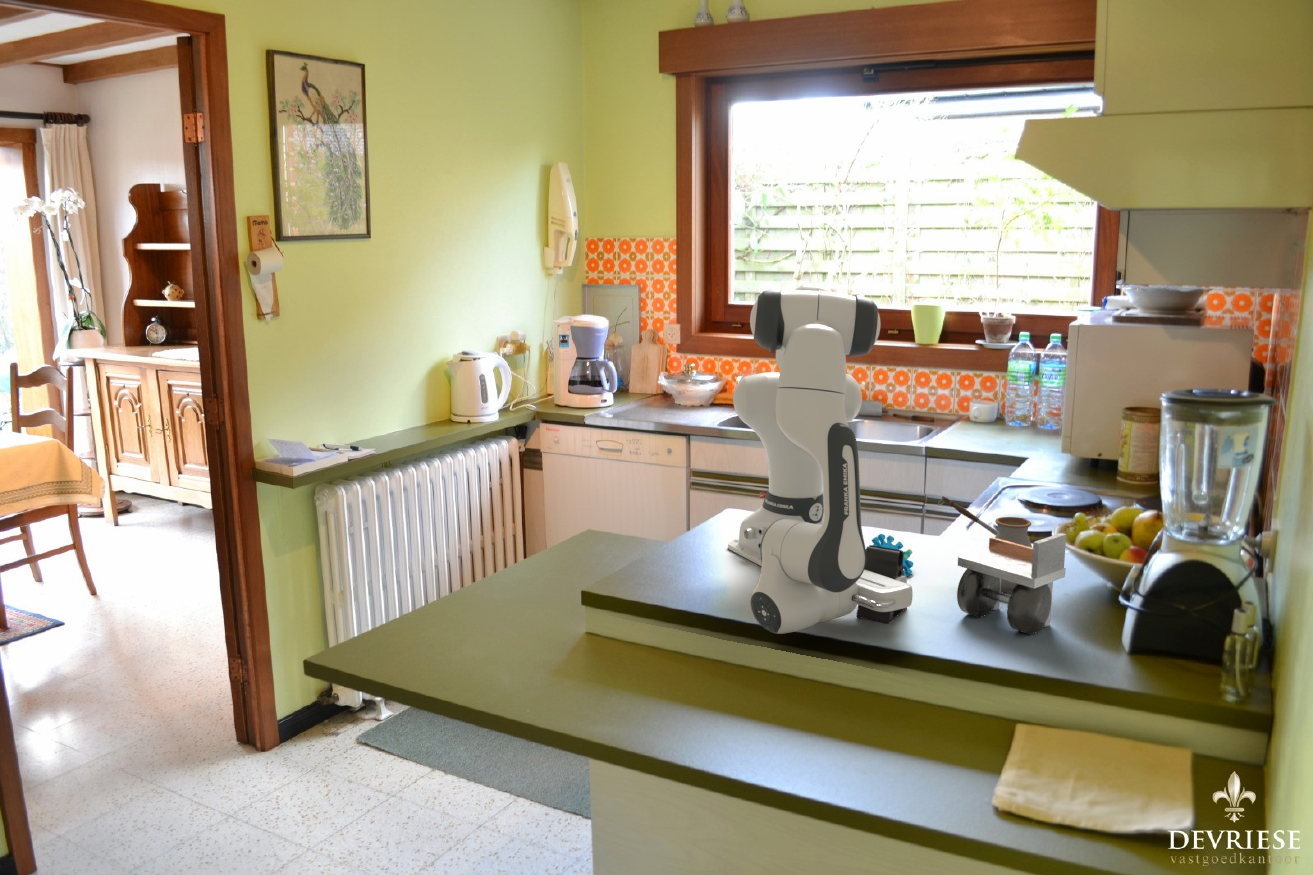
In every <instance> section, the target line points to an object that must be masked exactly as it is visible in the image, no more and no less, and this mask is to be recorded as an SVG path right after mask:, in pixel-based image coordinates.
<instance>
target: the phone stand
mask: <svg viewBox="0 0 1313 875" xmlns="http://www.w3.org/2000/svg"><path fill="white" fill-rule="evenodd" d="M865 549H866V566H865V570H868V571H871V572H874V573H877V574H880V575H883V576H886V577H889V578H892V579H895V578H894V576H897V575H903V576H904V572H905V571H903V570H904V569H903V552H904V551H903V550H901V549H899V550H896V549H890V548H884V547H879V546H873V544H869V546H867V547H865ZM895 580H896V579H895ZM907 609H908V607H906V608H903V609H899V610H894V611H889V612H878V611H874V610H871V609H868V608H866V607H863V606H860V605H858V604H857V610H856V617H857V618H861V619H865V620H870V621H875V622H878V623H879V622H880V623H884V624H889V625H890V624H891V623H892V622H893V621H895V620H896V619H897V618H898V617H899V616H901V615H902V613H904V612H905V611H907Z"/></svg>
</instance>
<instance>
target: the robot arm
mask: <svg viewBox="0 0 1313 875" xmlns="http://www.w3.org/2000/svg"><path fill="white" fill-rule="evenodd" d="M749 319H750V320H749V323H750V324H749V326H750V330H751V333H752V336H753V340H754V341H755V343H756V344H757V345H758V346H759V347H761V348H763V349H765V350H767V351H769V352H770V354H771V355H772V356H775V362H776V364H777V367H778V369H779V371H773V372H771V371H770V372H769V371H767V372H761V373H756V374H750V375H746V376H743V377H741V379H740V380H739V381H738V383H737V385H736V387H735V389H734V391H733V397H732V399H733V400H732V401H733V402H732V403H733V408H734V411H735V413H736V414H737V417H738V418H739V419H740V421H742V422H743V423H744V424H745V425H747V426H748V427H750V429H752V430H753V431H754V432H755V434H756V435H757V436H758V438H759V439H760V441H761V443H762V445H763V447H764V449H765V452H766V456H767V465H768V466H767V467H768V490H766V491H762V492H759V495H760V496H759V498H760V499H761V498H763V502H762V504H761V507H759V508H758V509H756V510H755V511H754V512H753V513H751V514H750V515H749V516H747V517H746V518H744V519H743V520H742V522H741V523H740V527H739V534H738V538H735V539H734V540H731V541H729V543H728V544H727V549H729V550H730V551H732V552H734V553H736V554H738V555H740V556H741V557H743V558H745V559H747V560H749V561H750V562H752V563H754V564H757V565H759V566H760V567H761V570H760V576H759V580H758V583H757V585H756V587H755V588H754V590H753V591H752V594H751V595H750V608H751V612H752V615H753V616H754V619H755V620H756V621H757V623H758V624H759V625H760V626H761V627H762V628H763V629H764V630H766V631H767V632H771V633H773V634H777V635H778V634H780V635H781V634H788V633H793V632H799V631H802V630H804V629H808V628H811V627H813V626H815V625H816V624H818V622H819V623H821V622H822V623H823V622H829V621H832V620H834V619H837V618H841V617H843V616H847V615H849V614H852V612H854V611H855V609H856V607H858V605H860V606H863V607H866V608H868V609H871V610H874V611H878V612H889V611H894V610H899V609H903V608H906V607H907V608H908V607H909V608H910V606H912V602H913V596H914V595H913V586H912V585H911V584H909V583H908V576H907V577H906V576H903V575H897V576H894V578H895V579H896V580H895V579H892V578H889V577H886V576H883V575H880V574H877V573H874V572H871V571H868V570H865V566H866V546H865V545H866V544H865V540H864V535H863V534H864V533H863V529H862V528H863V527H862V514H861V513H862V508H861V486H860V484H861V482H860V461H859V450H858V448H859V447H858V443H857V437H856V436H855V432H854V431H853V430H852V428H850V427H849V424H848V423H849V422H850V423H851V422H852V421H853V420H854V419H855V418H856V417H857V415H858V414H859V412H860V410H861V407H862V403H863V394H862V389H861V387H860V385H859V383H858V382H857V380H856V379H855V377H853V376H852V375H851V374H848V373H847V358H846V356H848V357H849V358H852V357H860V356H861V357H862V356H865V355H868V354H869V353H870V352H871V351H872V350H873V348H874V346H875V343H876V342H877V340H878V338H879V336H880V331H881V316H880V313H879V308H878V305H876V303H875V302H874V300H872V299H871V298H868V297H866V296H863V295H858V294H855V295H854V296H853V295H850V294H845V293H840V292H834V290H832V289H831V288H829V286H826V285H823V284H820V283H804V284H802V285H800V286H798V287H797V288H795V289H793V290H782V289H781V288H776V289H766V290H763V291H762V292H761V293H760V294H759V295H758V296H757V299H756V301H755V302H754V303H753V306H752V309H751V311H750V316H749ZM761 494H762V495H761Z"/></svg>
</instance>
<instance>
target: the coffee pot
mask: <svg viewBox="0 0 1313 875" xmlns="http://www.w3.org/2000/svg"><path fill="white" fill-rule="evenodd" d="M941 501H942V503H940V502H941ZM944 503H947V504H948V506H949V507H951V508H952V507H953V508H954V509H955V510H956V511H957V512H958V513H959V514H961V515H963V516H964V517H966V518H968V519H970V520H971V521H973V522H974V523H976V524H978V525H980V526H981V527H983V528H984V529H985V530H987V531H989V533H991V534H993V535H994V536H995V537H994V538H997V539H1001V540H1005V541H1009V542H1013V543H1016V544H1020V545H1024V546H1028V547H1032V548H1033V545H1032V543H1031V540H1030V538H1029V535H1028V531H1029V528H1030V527H1031V526H1032V522H1031V521H1030V520H1028V519H1026V518H1024V517H1019V516H1017V517H1016V516H1002V517H998V518H996V519H995V523H996V525H997V529H995V528H993V527H992V526H991V525H989V524H988V523H986V522H984V521H982V520H981V519H980V518H979V517H977V516H975V515H974V514H973V513H972V512H970V511H969V510H968V509H967V508H965V507H963V506H961V505H959V504H957V503H956V502H955V501H954V500H950V499H949V498H948V497H945V496H942V497H941V499H940V500H939V501H938V503H937V505H938V506H942V505H943V504H944ZM1016 585H1017V583H1014V582H1010V581H1007V580H1004V579H1001V590H1000V592H1002V593H1007V594H1008V593H1010V594H1011V593H1012V591H1013V589H1014V588H1015V586H1016Z"/></svg>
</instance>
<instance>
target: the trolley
mask: <svg viewBox="0 0 1313 875" xmlns="http://www.w3.org/2000/svg"><path fill="white" fill-rule="evenodd" d="M1032 544H1033V545H1032V547H1028V546H1024V545H1020V544H1016V543H1013V542H1009V541H1005V540H1001V539H997V538H995V537H994V536H991V537H989V540H988V547H985V548H982V549H979V550H976V551H973V552H970V553H969V552H968V553H966V554H962V555H960V556H957V567H960V568H965V570H964V572H963V574H962V575H961V577H960V579H959V582H958V585H957V586H958V587H957V590H956V591H957V592H956V601H957V605H958V607H959V609H960V611H962V612H963V613H965V614H969V615H972V616H974V617H976V618H977V617H978V618H983V617H985V616H984V615H986V616H987V615H989V614H990V613H991V611H993V610H995V611H997V610H996V609H998V610H1000V604H1001V603H1002V604H1005V605H1007V609H1006V616H1007V617H1006V618H1007V621H1008V624H1009V626H1010V627H1011V629H1013V630H1016V631H1018V632H1022V633H1025V634H1028V635H1034V634H1033V633H1035V632H1037V633H1038V632H1039V631H1040V630H1042V628H1044V627H1045V628H1047V627H1049V625H1050V626H1051V616H1052V615H1051V614H1052V602H1053V601H1052V600H1053V588H1054V586H1053V585H1054V582H1056V581H1058V580H1061V579H1064V578H1065V577H1066V567H1065V560H1066V559H1065V558H1066V545H1067V534H1066V533H1063V532H1061V533H1056V534H1053V535H1050V536H1047V537H1044V538H1041V539H1038V540H1035V541H1033V542H1032ZM1001 579H1004V580H1007V581H1010V582H1014V583H1017V585H1016V586H1015V588H1014V589H1013V591H1012V593H1010V594H1008V593H1006V592H1002V591H1000V590H1001ZM982 616H983V617H982ZM1035 634H1036V633H1035Z"/></svg>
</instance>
